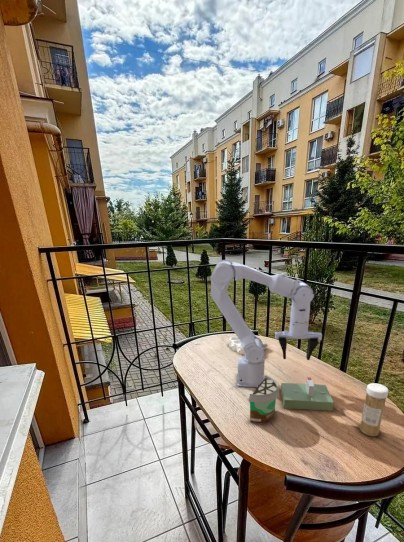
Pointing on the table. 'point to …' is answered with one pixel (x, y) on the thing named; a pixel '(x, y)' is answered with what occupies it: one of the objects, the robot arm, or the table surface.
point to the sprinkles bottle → (373, 409)
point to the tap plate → (306, 397)
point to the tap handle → (309, 386)
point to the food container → (263, 401)
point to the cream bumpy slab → (237, 346)
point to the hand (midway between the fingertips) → (296, 358)
